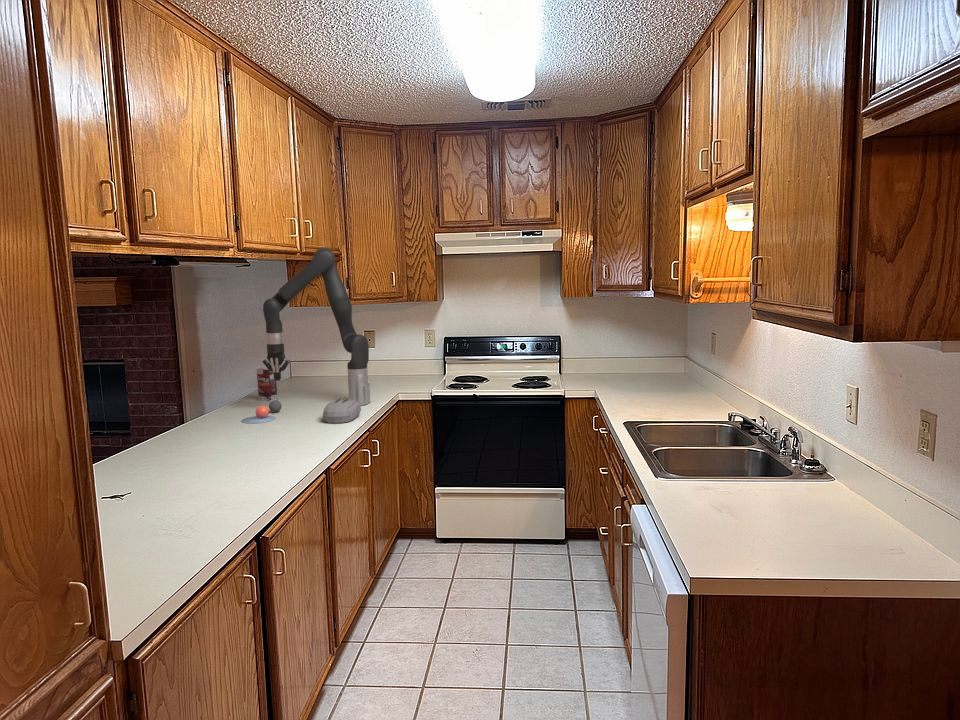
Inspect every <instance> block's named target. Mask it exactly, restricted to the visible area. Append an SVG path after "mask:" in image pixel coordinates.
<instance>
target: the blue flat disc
mask: <svg viewBox="0 0 960 720" xmlns="http://www.w3.org/2000/svg"><path fill="white" fill-rule="evenodd" d="M274 420H276V417H275V416H273V415H268V416H267V417H265V418H259V417H257V415H255V416H250V417H249V416H248V417H246V418H243V419H241V420H240V422H241V423H242V424H251V425H252V424H262V423H263V424H264V423H267V422H268V423H269V422H272V421H274Z"/></svg>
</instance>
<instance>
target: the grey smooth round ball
mask: <svg viewBox="0 0 960 720" xmlns="http://www.w3.org/2000/svg"><path fill="white" fill-rule="evenodd" d="M268 410H269V412H272V413H278V412H279V411H281V410H282V403H281V402H280V401H279V400H278V399H277V400H273V401H271V402H270V401H269V404H268Z"/></svg>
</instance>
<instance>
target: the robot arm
mask: <svg viewBox="0 0 960 720" xmlns="http://www.w3.org/2000/svg"><path fill="white" fill-rule="evenodd" d="M320 275H321V276H322V280H323V283H324V287H325V292H326V296H327V301H328V303H329V306H330V309H331V311H332V314H333V316H334V319H335V321H336V324H337V325H336V326H338V330H339V334H340V339H341V341H342V346H343V348H344V350H345V351H346V352H347V353H349V354H351V355H350V357H351V358H350V361H348V362H347V365H346V367H347V383H348V384H347V385H348V400H354V401H358V403H359V404H360V405H361V406H367V405H369V404H371V387H370V382H369V380H368V379H369V377H368V376H369V375H368V364H369V361H370V360H369V356H370V355H369V354H370V351H369V350H370V349H369V348H370V347H369V341H368V338H367V337H366V336H365V335H363V334H359V333H357V331H356V329H355V327H354V324H353V321H352V319H353V307H352V306H353V305H352V303H351V300H350V297H349V294H348V292H347V289H346V287H345V285H344V282H343V280H342V278H341V277H340V274H339V271H338V267H337V263H336V259H335V254H334V252H333V251H332V250H331V249H330V248H328V247H320V248H318V249H316V250H315V252H314V254H313V257H312V259H311V260H310V261H309V262H308V264H307V265H306V266H305V267H304V268H303V269H302V270H301V271H299V272H298V273H296V274H295V275H294V276H293V277H291V278H290V279H289V280H288V281H286V283H285V284H284V285H282V286H281V287H280V288H279V290H278V292H277V293H275V295H273V296H272V297H271V298H268V299H266V300H265V301H264V302H263V305H262V306H263V307H262V311H263V316H264V322H265V332H266V337H265V338H266V341H265V343H266V354H267V355H266V358H265V359H264V360H262V363H263V365H264V366H265V368H268V370H269V371H272V372H273V373H274V379H275V381H276V382H279V381H280V380H281V379H282V372H284V371H285V370H286V369H287V367H288V365H290V363H291V360H290V359H288V358H287V357H286V355H285V339H284V334H283V333H284V332H283V323H282V320H281V317H280V312H281V311H283V310H284V309H285V307H286V306H287V305H288V303H290V302H291V301H292V300H293V299H294V298H295V297H297V296H298V294H300V292H302V290H304V289H305V288H306V287H307V286H308V285H309V284H310V283H311V282H312V281H313V280H315V279H316V278H317V277H319V276H320Z"/></svg>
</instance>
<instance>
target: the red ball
mask: <svg viewBox="0 0 960 720" xmlns="http://www.w3.org/2000/svg"><path fill="white" fill-rule="evenodd" d="M269 413H270V409H269V407H267V406H266V405H259V406H258V407H257V408H256V409H255V416H257V417H259V418H265V417H267V416H269Z"/></svg>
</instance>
